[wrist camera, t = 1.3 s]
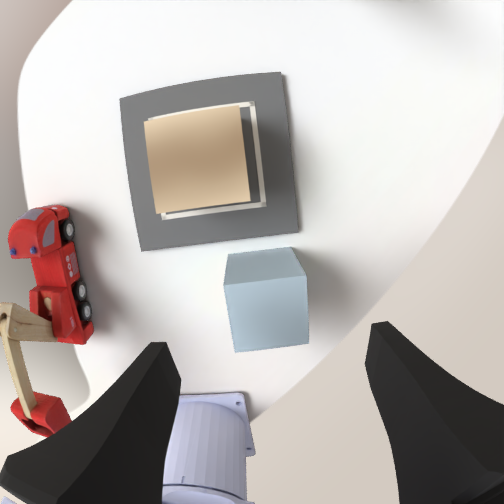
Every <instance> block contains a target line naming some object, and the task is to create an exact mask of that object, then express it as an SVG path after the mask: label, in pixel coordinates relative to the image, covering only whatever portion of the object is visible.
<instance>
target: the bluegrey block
mask: <svg viewBox="0 0 504 504" xmlns="http://www.w3.org/2000/svg"><path fill="white" fill-rule="evenodd" d="M224 292H225V298H226V304H227V310H228V315H229V321H230V327H231V333H232V338H233V344H234V349H235V353H236V352H246V351H255V350H264V349H272V348H280V347H288V346H295V345H302V344H308V343H309V322H308V296H307V275H306V273H305V272H304V270H303V268H302V266H301V264H300V263H299V261H298V259H297V257H296V255H295V254H294V252H293V250H292V248H291V247H285V248H276V249H268V250H259V251H251V252H243V253H234V254H228V257H227V264H226V271H225V278H224Z"/></svg>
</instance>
